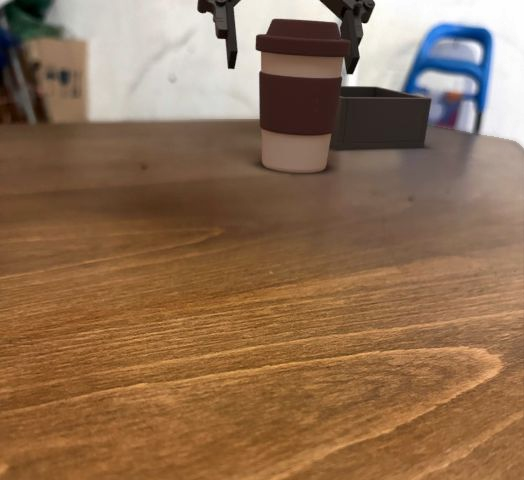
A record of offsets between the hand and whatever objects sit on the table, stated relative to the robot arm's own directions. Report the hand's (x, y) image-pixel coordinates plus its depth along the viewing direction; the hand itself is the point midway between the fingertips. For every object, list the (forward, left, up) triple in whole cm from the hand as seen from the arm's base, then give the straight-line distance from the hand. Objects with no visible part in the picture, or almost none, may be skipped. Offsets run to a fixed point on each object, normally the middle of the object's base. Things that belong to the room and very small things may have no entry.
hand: (294, 63), depth 73 cm
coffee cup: (+1, +3, -11) cm, 11 cm away
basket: (-16, -12, -11) cm, 23 cm away
